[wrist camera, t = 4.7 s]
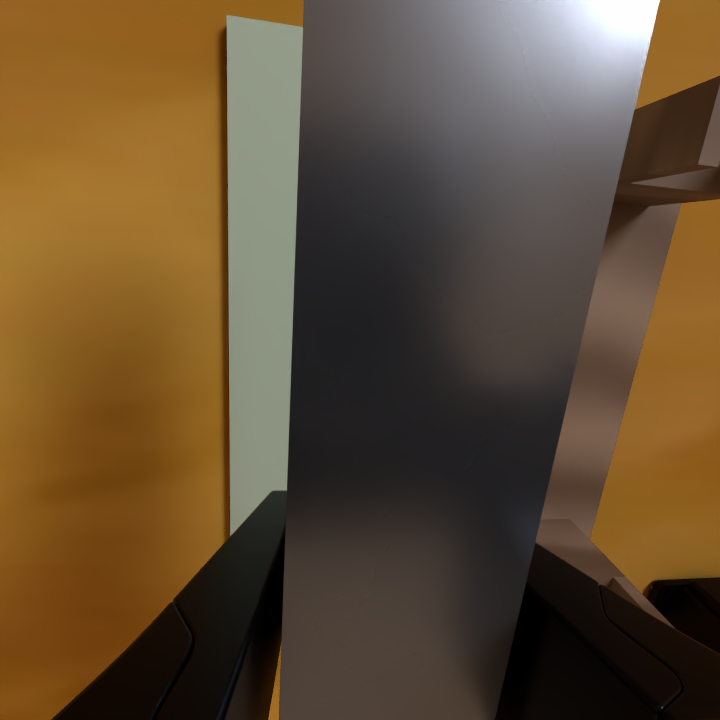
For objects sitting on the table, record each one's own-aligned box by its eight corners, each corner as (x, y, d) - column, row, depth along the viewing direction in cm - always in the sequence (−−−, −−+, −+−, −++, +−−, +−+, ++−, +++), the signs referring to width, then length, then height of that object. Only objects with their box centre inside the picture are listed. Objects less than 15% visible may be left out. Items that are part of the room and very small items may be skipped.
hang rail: (383, 883, 12) (408, 1095, 9) (275, 899, 11) (264, 1127, 8) (560, -292, 5) (880, -963, 2) (323, -363, 5) (349, -1297, 2)
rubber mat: (393, 578, 24) (395, 585, 23) (232, 585, 22) (230, 592, 22) (457, 58, 17) (462, 52, 16) (229, 22, 15) (226, 15, 15)
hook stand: (566, 545, 25) (695, 694, 16) (439, 548, 23) (510, 711, 15) (669, 142, 19) (949, 66, 11) (506, 120, 17) (680, 16, 9)
